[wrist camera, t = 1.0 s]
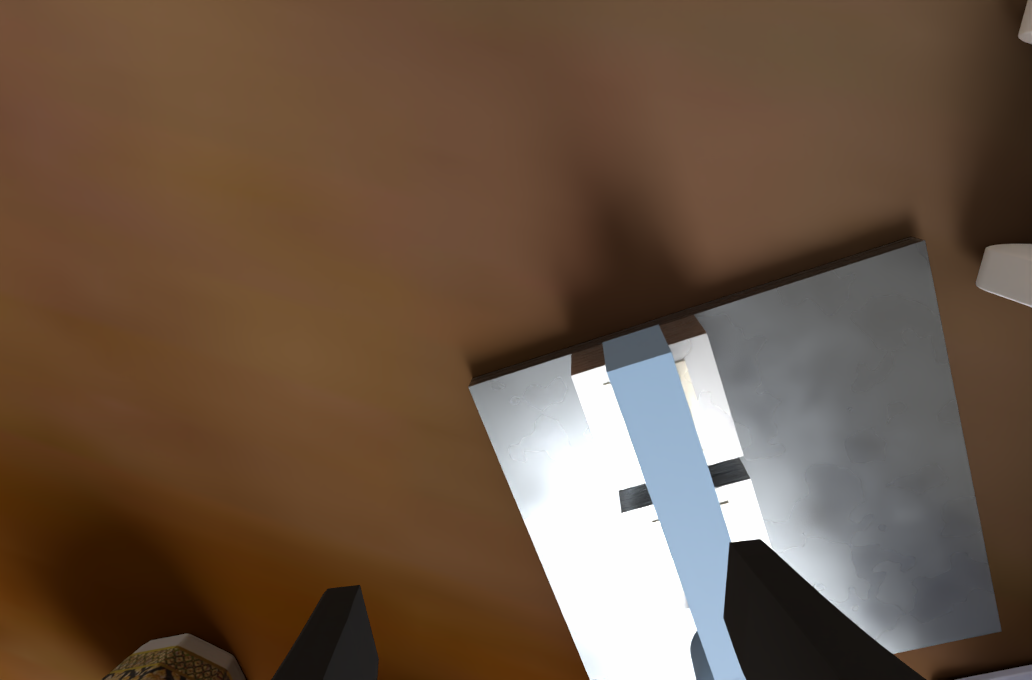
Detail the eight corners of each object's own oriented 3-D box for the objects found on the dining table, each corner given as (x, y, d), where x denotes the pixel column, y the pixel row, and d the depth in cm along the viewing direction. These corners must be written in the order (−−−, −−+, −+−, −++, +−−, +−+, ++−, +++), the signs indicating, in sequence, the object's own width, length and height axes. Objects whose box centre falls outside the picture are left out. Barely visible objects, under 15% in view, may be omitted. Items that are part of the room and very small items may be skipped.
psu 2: (727, 426, 25) (744, 456, 23) (609, 460, 26) (613, 493, 24) (693, 314, 24) (707, 333, 22) (571, 354, 25) (570, 376, 23)
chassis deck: (986, 614, 28) (1001, 631, 27) (603, 696, 31) (604, 713, 30) (911, 236, 23) (925, 240, 23) (472, 378, 27) (468, 387, 26)
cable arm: (792, 675, 25) (820, 743, 22) (703, 693, 26) (720, 761, 23) (681, 317, 21) (698, 343, 18) (580, 349, 22) (581, 380, 19)
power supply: (764, 547, 27) (783, 588, 24) (651, 575, 28) (659, 617, 25) (734, 447, 26) (751, 480, 23) (617, 480, 26) (621, 514, 24)
